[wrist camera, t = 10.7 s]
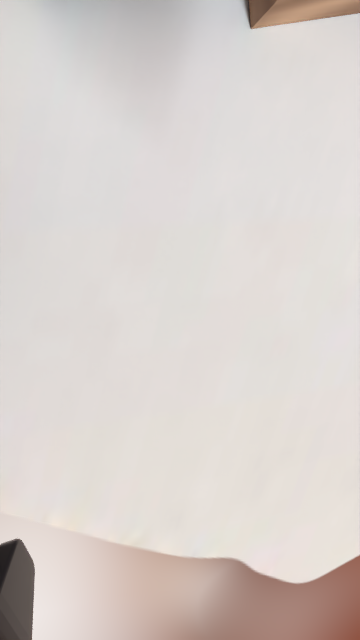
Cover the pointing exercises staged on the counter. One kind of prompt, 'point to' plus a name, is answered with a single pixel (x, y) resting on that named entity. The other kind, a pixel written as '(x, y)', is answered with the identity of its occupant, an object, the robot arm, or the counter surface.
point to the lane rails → (297, 10)
